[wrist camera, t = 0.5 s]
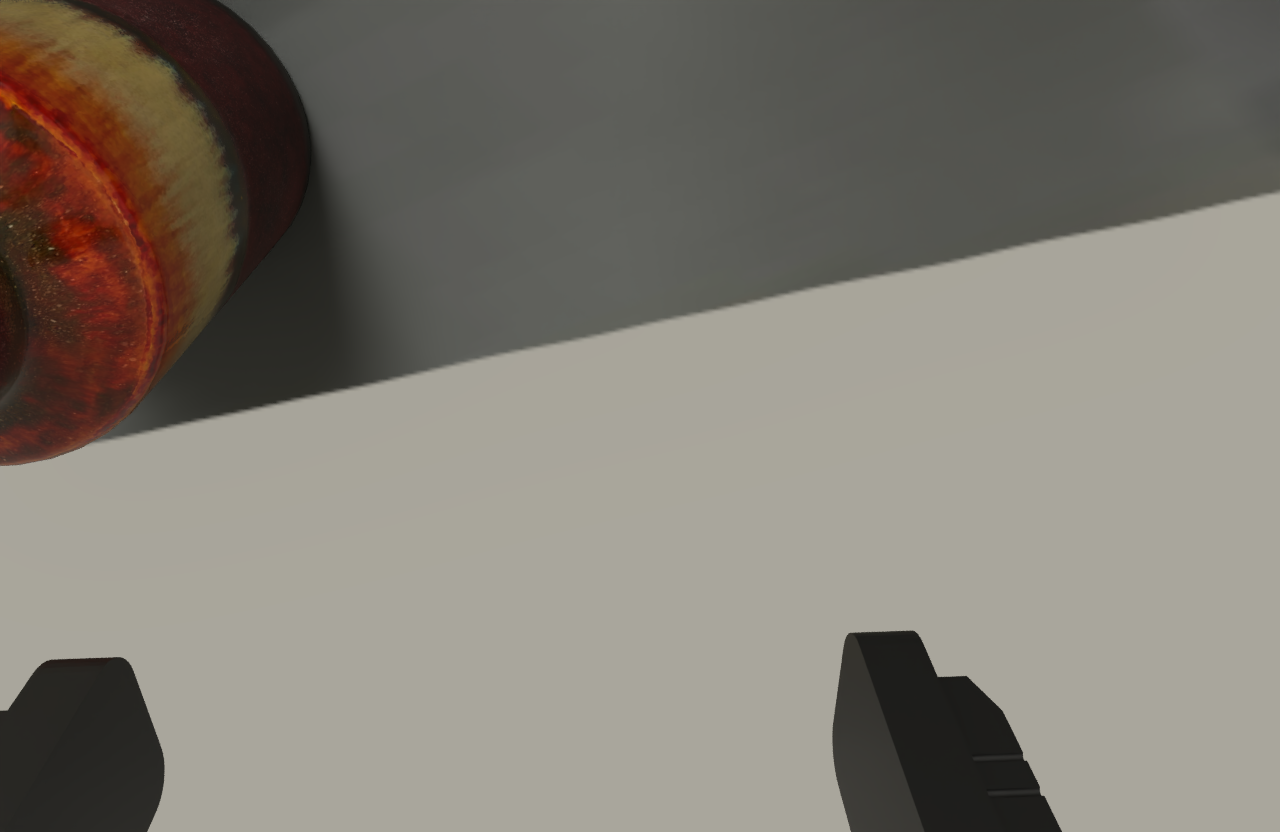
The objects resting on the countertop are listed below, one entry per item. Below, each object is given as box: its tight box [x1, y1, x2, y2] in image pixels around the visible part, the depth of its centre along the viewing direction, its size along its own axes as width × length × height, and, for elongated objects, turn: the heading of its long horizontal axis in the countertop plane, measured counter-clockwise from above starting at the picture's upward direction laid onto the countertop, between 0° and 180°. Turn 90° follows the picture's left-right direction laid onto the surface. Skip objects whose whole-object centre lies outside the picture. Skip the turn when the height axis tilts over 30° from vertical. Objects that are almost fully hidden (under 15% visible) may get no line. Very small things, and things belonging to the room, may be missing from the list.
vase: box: [0, 0, 311, 466], centre depth 26 cm, size 11×11×20 cm
